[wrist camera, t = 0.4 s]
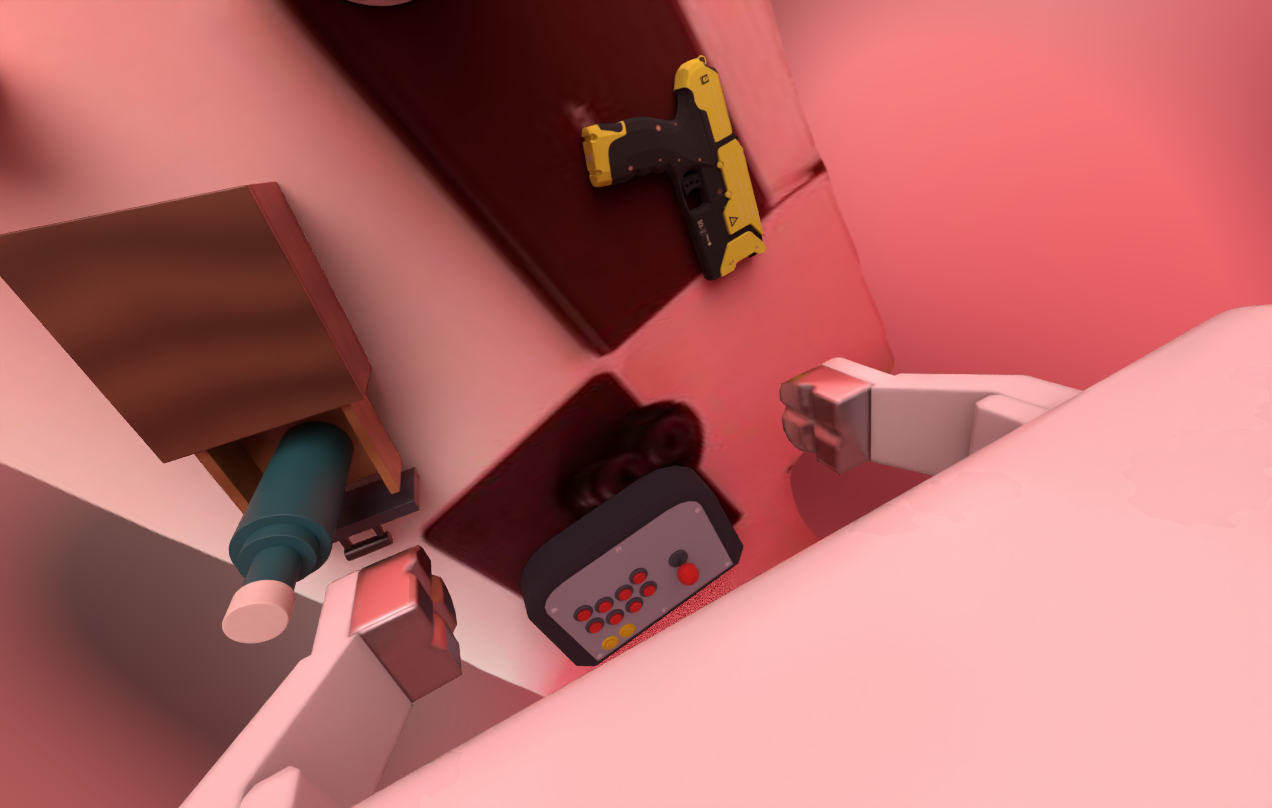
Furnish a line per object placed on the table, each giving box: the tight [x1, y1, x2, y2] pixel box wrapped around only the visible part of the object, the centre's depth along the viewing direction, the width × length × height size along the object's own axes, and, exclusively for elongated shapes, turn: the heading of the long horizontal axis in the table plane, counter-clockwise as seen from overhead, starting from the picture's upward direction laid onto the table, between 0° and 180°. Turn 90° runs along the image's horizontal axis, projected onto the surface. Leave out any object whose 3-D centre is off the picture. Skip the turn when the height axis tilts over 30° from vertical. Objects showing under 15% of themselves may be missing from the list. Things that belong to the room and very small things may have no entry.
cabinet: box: [0, 182, 371, 463], centre depth 35 cm, size 16×14×8 cm
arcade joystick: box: [520, 466, 743, 666], centre depth 62 cm, size 28×19×10 cm
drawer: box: [195, 394, 419, 561], centre depth 42 cm, size 19×12×6 cm, turn 11°
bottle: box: [222, 421, 353, 643], centre depth 35 cm, size 6×6×20 cm
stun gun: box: [582, 56, 766, 281], centre depth 46 cm, size 3×19×15 cm
